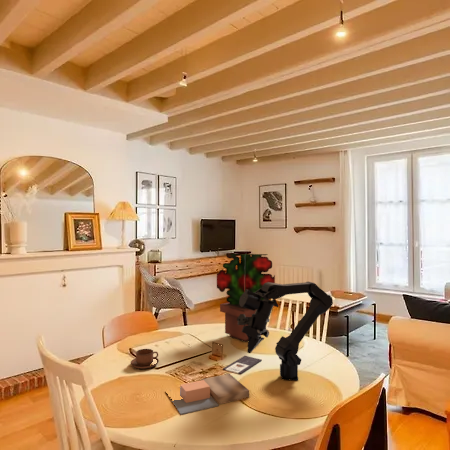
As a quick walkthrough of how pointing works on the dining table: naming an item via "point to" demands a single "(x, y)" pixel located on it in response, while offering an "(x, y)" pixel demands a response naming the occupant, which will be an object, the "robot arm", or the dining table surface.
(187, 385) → the salmon pink block
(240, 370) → the chocolate bar
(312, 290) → the robot arm
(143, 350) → the cup and saucer
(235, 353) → the dining table surface
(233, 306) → the potted plant
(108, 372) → the dining table surface
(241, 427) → the dining table surface
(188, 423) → the dining table surface
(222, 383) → the block
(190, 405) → the slate mat
